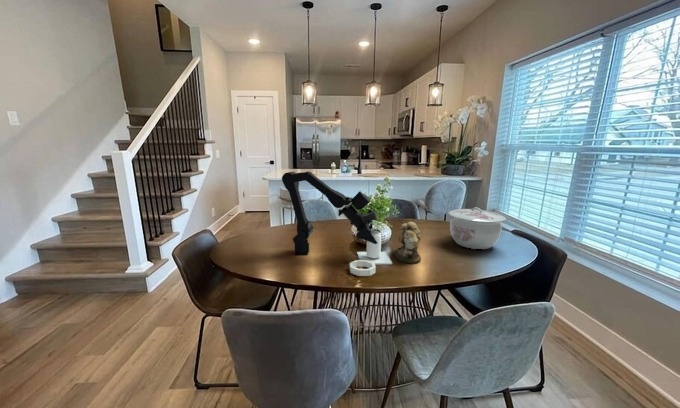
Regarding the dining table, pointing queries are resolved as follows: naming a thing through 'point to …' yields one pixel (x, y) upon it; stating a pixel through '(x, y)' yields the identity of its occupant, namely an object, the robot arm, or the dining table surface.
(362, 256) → the mat
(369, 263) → the ring
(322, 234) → the dining table surface
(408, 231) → the owl figurine
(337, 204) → the robot arm
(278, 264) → the dining table surface
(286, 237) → the dining table surface
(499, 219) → the chamber pot
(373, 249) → the can
